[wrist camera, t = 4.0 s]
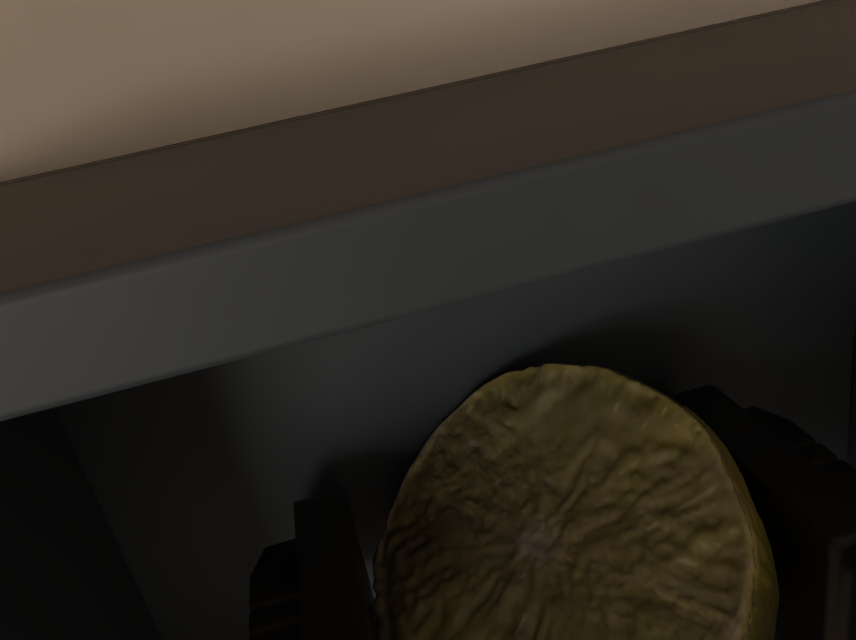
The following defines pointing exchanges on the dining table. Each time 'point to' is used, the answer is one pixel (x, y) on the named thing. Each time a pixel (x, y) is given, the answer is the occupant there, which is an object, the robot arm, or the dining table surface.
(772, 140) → the bin
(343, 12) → the dining table surface
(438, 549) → the lime
